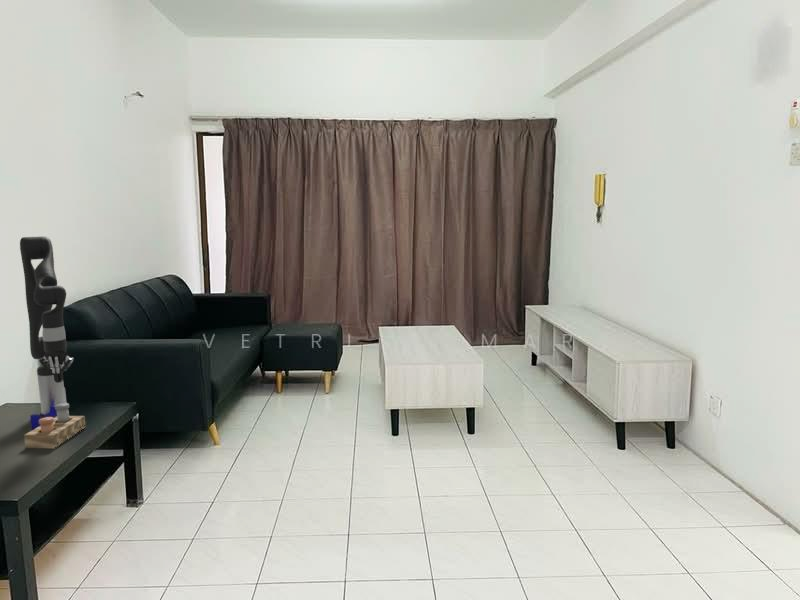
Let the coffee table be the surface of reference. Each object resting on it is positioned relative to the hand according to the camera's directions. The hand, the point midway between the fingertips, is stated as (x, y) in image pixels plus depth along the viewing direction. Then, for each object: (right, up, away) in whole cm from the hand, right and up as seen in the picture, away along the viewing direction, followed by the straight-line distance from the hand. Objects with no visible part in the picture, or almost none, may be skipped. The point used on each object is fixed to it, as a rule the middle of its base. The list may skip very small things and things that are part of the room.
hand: (58, 381), depth 229 cm
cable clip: (-13, -19, +13) cm, 27 cm away
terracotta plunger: (0, -20, -7) cm, 21 cm away
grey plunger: (0, -17, +3) cm, 17 cm away
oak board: (0, -21, -2) cm, 21 cm away
